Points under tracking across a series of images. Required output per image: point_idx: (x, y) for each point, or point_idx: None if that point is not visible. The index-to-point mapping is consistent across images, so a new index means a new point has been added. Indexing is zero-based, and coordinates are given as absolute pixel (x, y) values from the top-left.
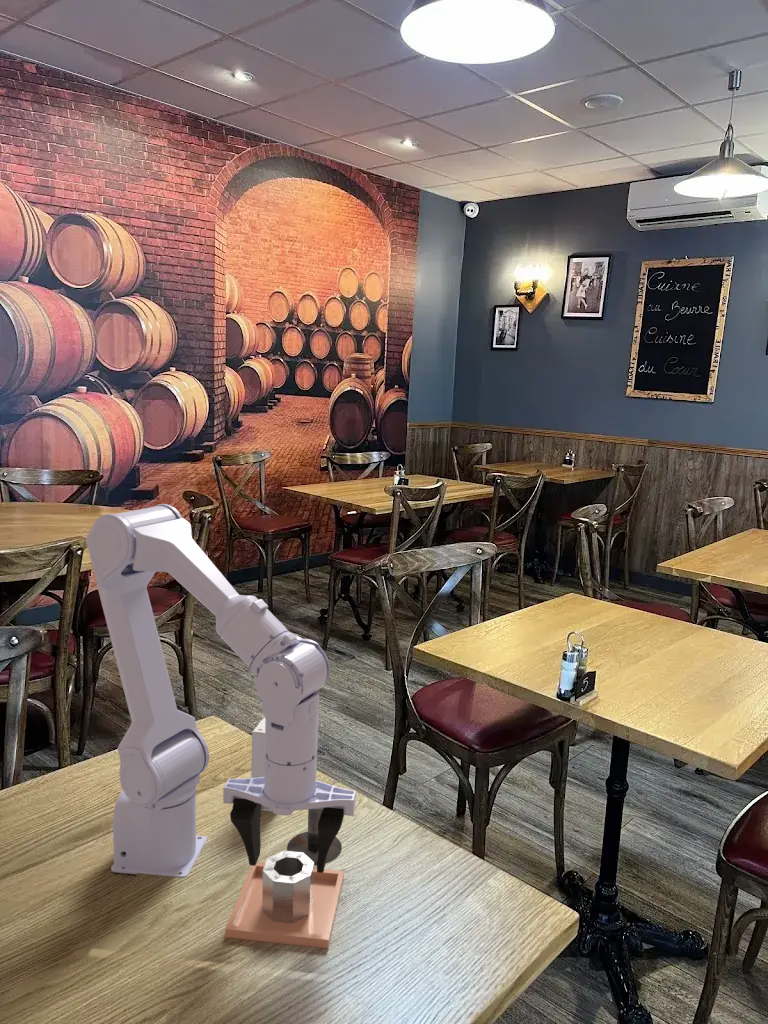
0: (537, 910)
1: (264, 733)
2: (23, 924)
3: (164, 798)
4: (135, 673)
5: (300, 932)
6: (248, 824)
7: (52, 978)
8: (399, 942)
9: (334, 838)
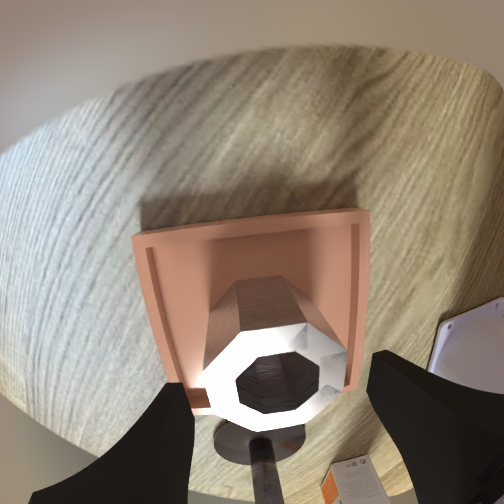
0: None
1: None
2: None
3: None
4: None
5: (209, 260)
6: (497, 427)
7: (497, 116)
8: (46, 287)
9: (235, 460)
